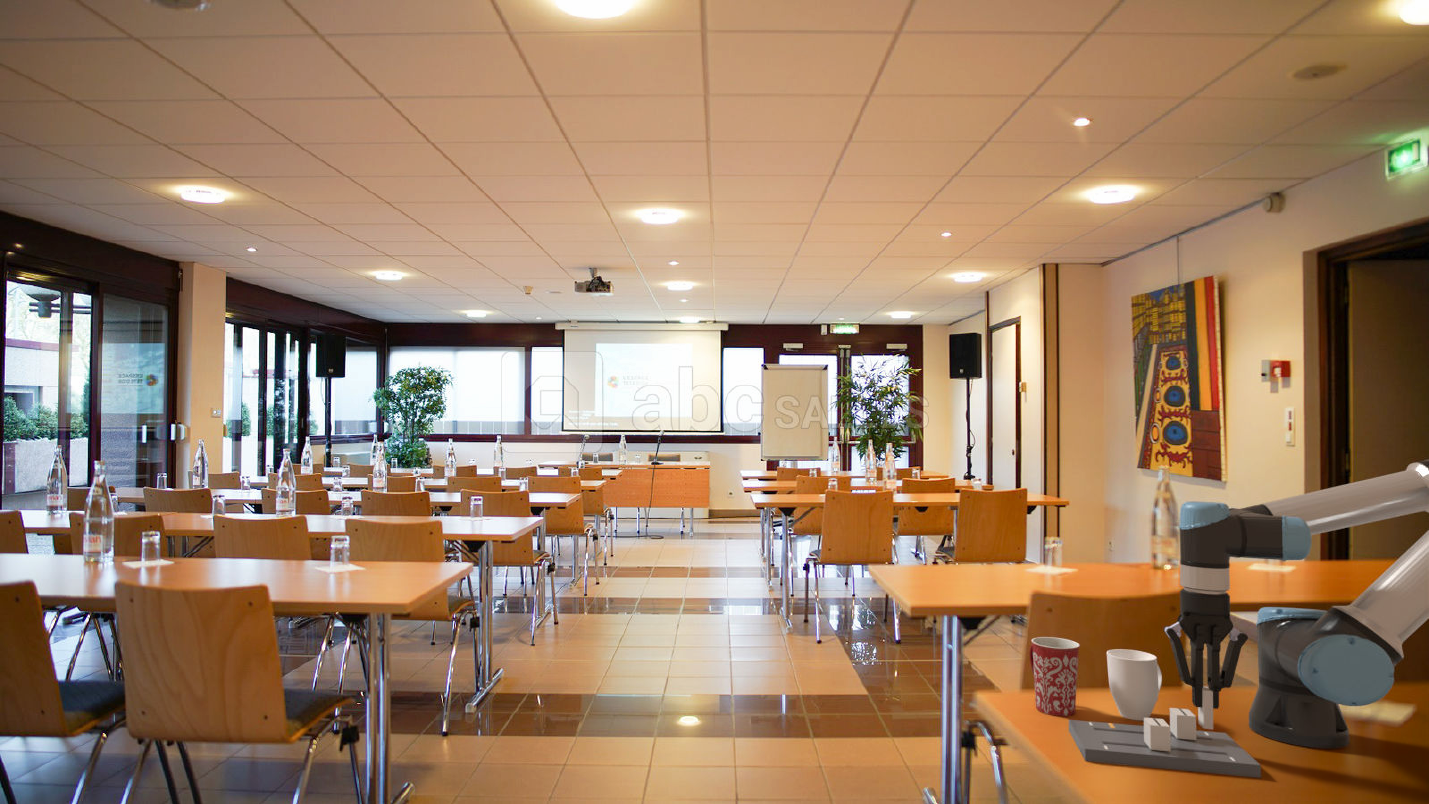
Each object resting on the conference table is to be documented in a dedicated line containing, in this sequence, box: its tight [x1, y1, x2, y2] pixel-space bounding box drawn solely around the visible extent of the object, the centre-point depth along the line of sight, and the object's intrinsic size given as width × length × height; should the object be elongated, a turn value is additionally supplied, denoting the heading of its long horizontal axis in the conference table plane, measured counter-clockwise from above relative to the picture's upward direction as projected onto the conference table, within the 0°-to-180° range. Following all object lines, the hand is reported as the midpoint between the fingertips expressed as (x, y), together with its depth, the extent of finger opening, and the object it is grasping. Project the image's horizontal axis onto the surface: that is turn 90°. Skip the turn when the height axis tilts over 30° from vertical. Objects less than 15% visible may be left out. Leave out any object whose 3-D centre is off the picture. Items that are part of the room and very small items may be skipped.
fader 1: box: [1143, 717, 1170, 751], centre depth 137 cm, size 3×4×4 cm
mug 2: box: [1106, 648, 1163, 721], centre depth 160 cm, size 12×9×12 cm
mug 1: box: [1029, 636, 1081, 717], centre depth 164 cm, size 13×9×14 cm
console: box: [1068, 719, 1262, 779], centre depth 140 cm, size 26×15×2 cm, turn 76°
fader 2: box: [1169, 707, 1197, 740], centre depth 143 cm, size 3×4×4 cm
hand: (1205, 726), depth 142 cm, fingers closed
